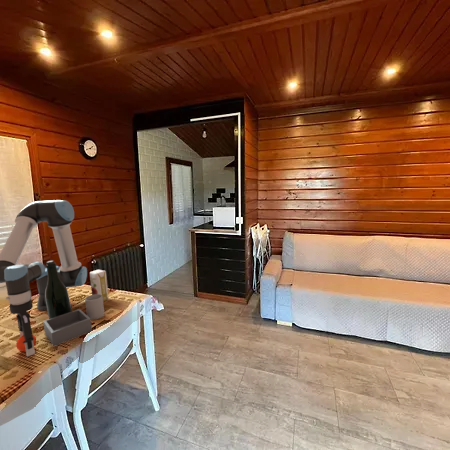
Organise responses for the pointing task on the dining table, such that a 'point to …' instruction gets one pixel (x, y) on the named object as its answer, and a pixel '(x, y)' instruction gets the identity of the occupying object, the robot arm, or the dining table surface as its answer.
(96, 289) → the juice carton
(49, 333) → the bin
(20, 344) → the tomato
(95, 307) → the mug
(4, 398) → the dining table surface
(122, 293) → the dining table surface
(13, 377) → the dining table surface
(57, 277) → the wine bottle
